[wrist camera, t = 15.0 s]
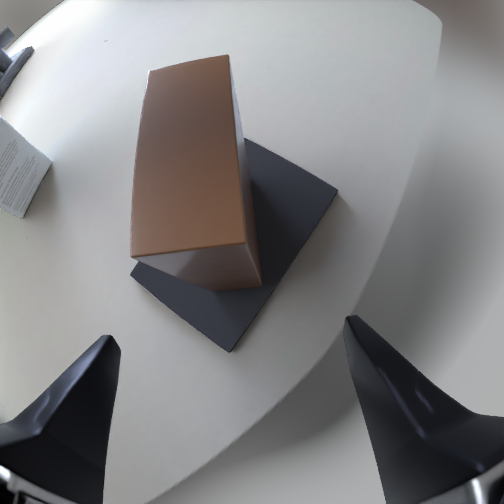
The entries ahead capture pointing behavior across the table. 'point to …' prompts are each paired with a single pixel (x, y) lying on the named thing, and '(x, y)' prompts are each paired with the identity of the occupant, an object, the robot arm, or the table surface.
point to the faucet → (10, 61)
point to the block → (194, 179)
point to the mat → (269, 241)
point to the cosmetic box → (19, 170)
